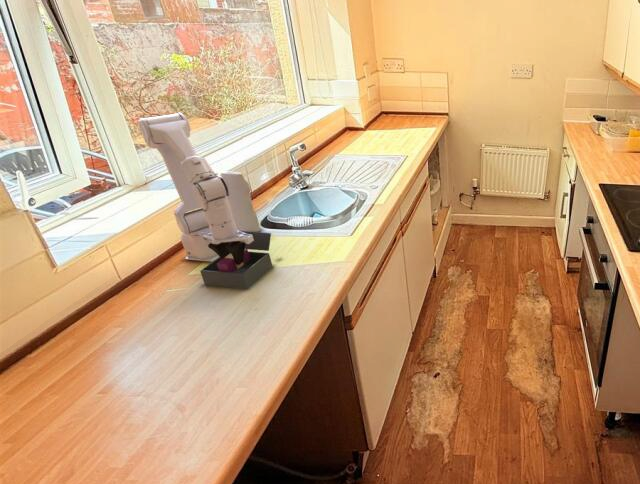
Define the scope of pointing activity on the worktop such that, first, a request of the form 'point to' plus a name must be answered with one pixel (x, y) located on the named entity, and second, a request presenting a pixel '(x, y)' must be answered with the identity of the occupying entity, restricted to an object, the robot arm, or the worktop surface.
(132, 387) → the worktop surface
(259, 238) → the flap
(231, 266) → the chocolate
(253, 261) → the carton
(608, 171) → the worktop surface
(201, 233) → the robot arm
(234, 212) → the tall pale column
